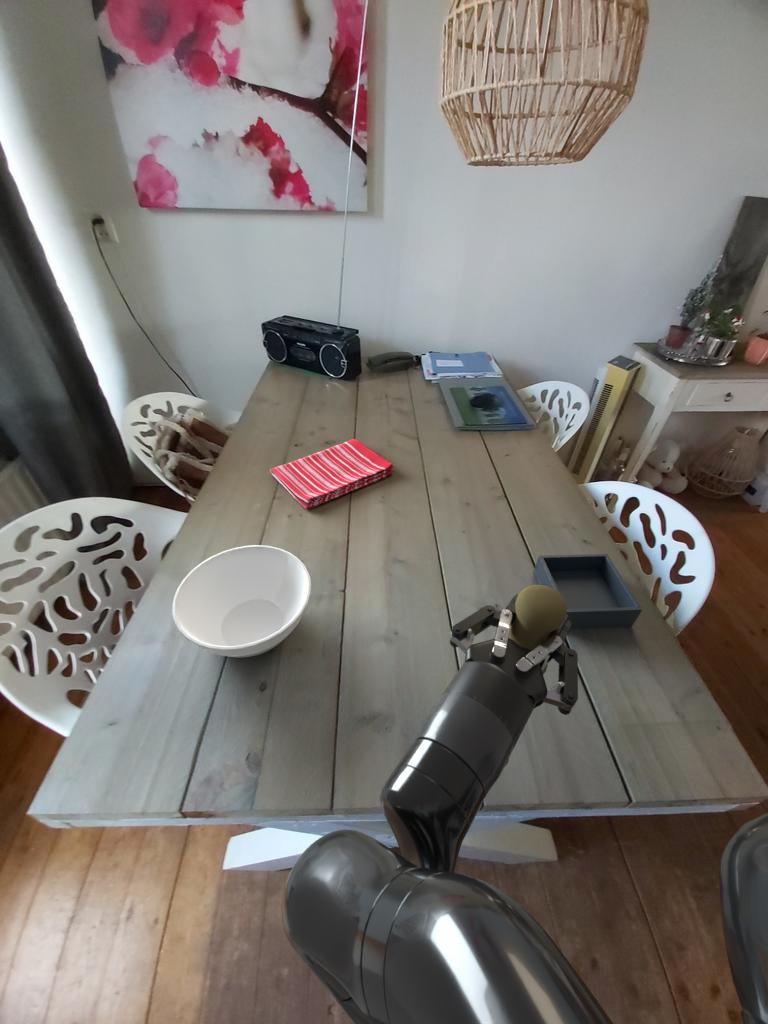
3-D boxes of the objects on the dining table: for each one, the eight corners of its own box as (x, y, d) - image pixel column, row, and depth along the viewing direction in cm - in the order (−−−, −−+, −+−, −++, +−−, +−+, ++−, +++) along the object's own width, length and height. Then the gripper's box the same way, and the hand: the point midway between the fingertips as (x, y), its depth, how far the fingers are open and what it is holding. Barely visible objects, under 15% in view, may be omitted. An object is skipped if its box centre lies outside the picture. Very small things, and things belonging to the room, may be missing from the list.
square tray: (632, 626, 70) (642, 609, 67) (557, 629, 70) (565, 612, 67) (598, 570, 80) (607, 553, 77) (533, 572, 79) (538, 555, 76)
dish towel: (396, 474, 102) (396, 464, 100) (307, 512, 91) (306, 502, 89) (354, 443, 112) (354, 434, 111) (269, 474, 101) (268, 464, 99)
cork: (554, 681, 51) (583, 621, 44) (501, 680, 51) (522, 620, 44) (539, 636, 55) (564, 576, 48) (492, 635, 55) (509, 575, 48)
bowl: (160, 638, 67) (142, 603, 62) (256, 563, 79) (248, 529, 74) (249, 710, 58) (237, 677, 53) (340, 613, 71) (338, 578, 66)
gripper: (561, 760, 34) (619, 618, 45) (410, 660, 41) (493, 557, 52) (538, 795, 39) (596, 660, 50) (406, 701, 46) (482, 599, 56)
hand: (543, 608), depth 51 cm, fingers closed on cork, 4 cm apart
